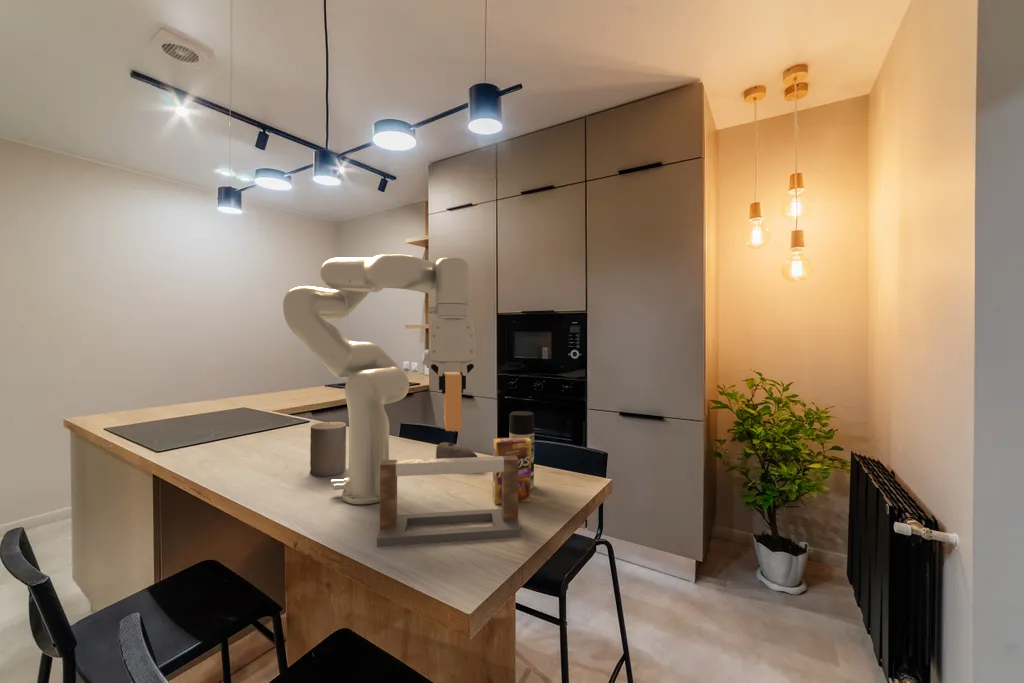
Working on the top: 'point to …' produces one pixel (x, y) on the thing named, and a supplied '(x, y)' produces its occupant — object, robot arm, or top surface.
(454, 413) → the orange angular block
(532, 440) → the spray can
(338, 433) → the pillar candle
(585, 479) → the top surface
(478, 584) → the top surface
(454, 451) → the perforated stone tool
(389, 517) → the crossbar rack
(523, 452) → the candy box
